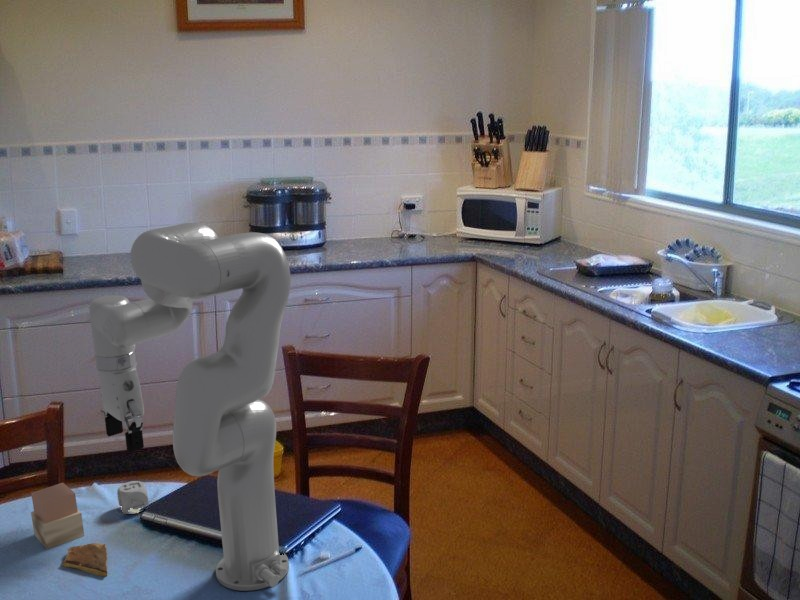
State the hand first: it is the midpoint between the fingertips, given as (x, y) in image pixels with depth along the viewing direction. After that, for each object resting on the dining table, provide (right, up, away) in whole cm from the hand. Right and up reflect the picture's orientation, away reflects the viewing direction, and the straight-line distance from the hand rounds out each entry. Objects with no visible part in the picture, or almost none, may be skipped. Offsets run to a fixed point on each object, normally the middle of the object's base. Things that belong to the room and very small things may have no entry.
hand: (125, 441), depth 172 cm
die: (+1, -14, +4) cm, 15 cm away
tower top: (-11, -12, -7) cm, 18 cm away
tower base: (-11, -17, -6) cm, 21 cm away
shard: (-1, -20, -14) cm, 24 cm away
